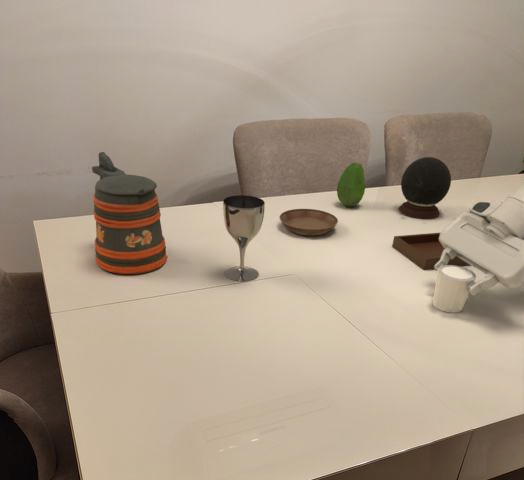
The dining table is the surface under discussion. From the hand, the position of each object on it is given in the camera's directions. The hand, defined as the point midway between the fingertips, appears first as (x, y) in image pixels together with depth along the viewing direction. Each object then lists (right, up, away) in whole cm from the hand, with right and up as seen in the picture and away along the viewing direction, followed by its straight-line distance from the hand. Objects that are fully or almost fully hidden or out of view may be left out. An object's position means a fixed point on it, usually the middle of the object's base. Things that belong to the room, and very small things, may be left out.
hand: (452, 280), depth 94 cm
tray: (+5, +9, +23) cm, 26 cm away
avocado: (-11, +29, +51) cm, 60 cm away
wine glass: (-40, +3, +10) cm, 41 cm away
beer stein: (-65, +7, +14) cm, 67 cm away
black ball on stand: (+9, +26, +49) cm, 57 cm away
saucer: (-24, +18, +34) cm, 45 cm away
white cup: (0, -4, +3) cm, 5 cm away
